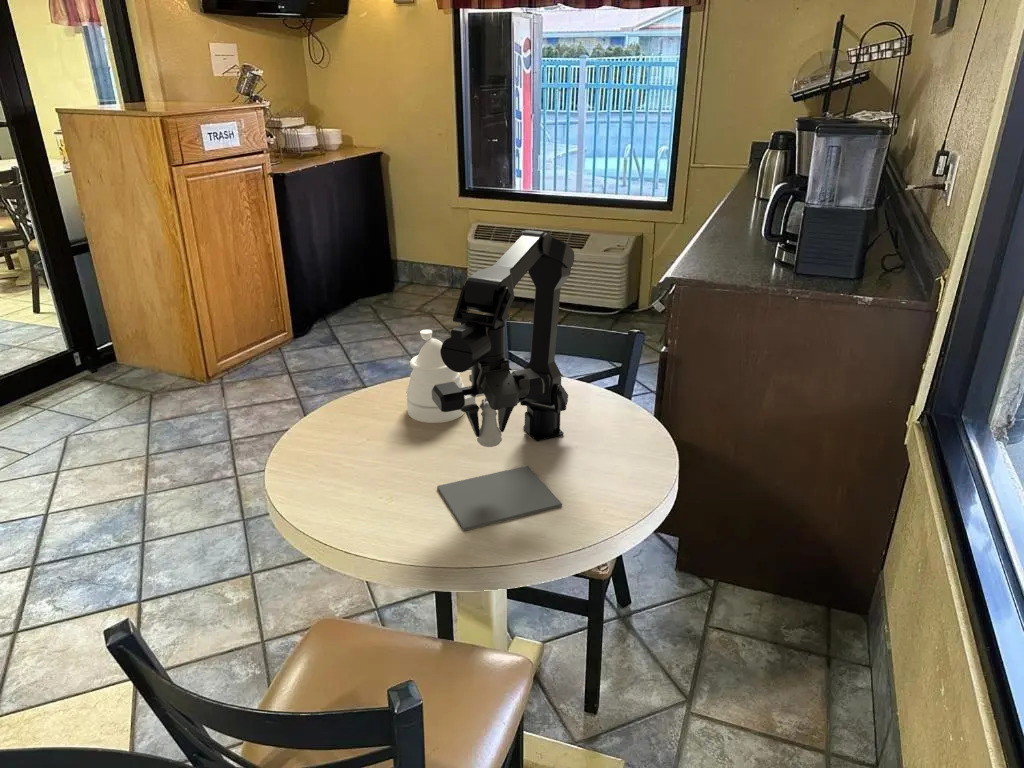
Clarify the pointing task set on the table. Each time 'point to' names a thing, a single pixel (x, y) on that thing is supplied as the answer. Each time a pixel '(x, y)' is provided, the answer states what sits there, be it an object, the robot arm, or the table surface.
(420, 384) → the honey pot
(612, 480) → the table surface
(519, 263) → the robot arm
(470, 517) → the rubber mat
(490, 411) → the rook chess piece
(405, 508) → the table surface
